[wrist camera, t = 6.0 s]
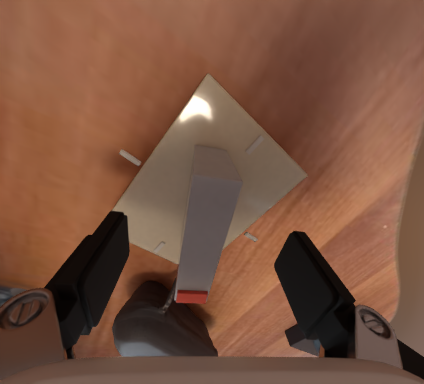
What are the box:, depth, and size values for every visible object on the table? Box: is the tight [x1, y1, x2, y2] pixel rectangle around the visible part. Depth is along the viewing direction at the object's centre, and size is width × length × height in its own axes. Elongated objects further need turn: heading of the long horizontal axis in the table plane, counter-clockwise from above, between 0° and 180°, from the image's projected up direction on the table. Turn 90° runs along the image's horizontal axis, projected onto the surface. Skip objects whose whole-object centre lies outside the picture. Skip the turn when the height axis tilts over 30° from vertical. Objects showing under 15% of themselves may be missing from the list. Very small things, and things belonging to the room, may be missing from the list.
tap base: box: [112, 73, 308, 265], centre depth 15 cm, size 14×13×3 cm
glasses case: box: [112, 278, 218, 357], centre depth 24 cm, size 18×10×8 cm, turn 28°
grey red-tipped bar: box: [174, 145, 243, 304], centre depth 12 cm, size 9×2×5 cm, turn 169°
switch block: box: [285, 324, 321, 357], centre depth 30 cm, size 12×10×4 cm
